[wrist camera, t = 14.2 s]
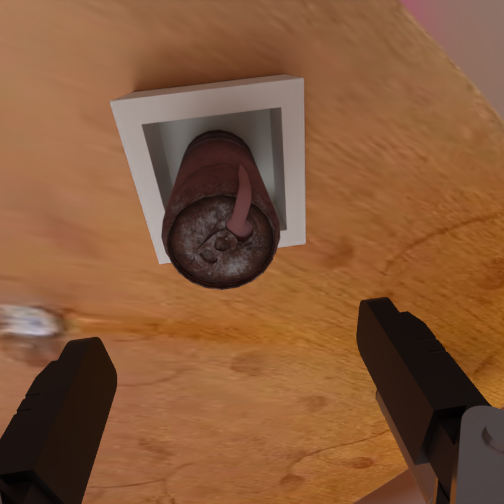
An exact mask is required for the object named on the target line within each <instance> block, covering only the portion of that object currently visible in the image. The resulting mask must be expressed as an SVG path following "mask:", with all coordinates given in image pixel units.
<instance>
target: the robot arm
mask: <svg viewBox="0 0 504 504" xmlns="http://www.w3.org/2000/svg"><path fill="white" fill-rule="evenodd" d="M356 337H357V345H358V349H359V352H360V355H361V357H362V359H363V361H364V363H365V365H366V367H367V369H368V371H369V373H370V375H371V377H372V379H373V381H374V383H375V385H376V387H377V389H378V391H377V394H376V400H377V402H378V404H379V406H380V409H381V411H382V413H383V415H384V417H385V419H386V421H387V423H388V425H389V427H390V430H391V432H392V434H393V436H394V438H395V440H396V442H397V444H398V446H399V448H400V450H401V453H402V455H403V457H404V459H405V461H406V463H407V465H408V467H409V469H410V471H411V473H412V475H413V478H414V480H415V482H416V484H417V486H418V488H419V490H420V492H421V494H422V496H423V499H424V501H425V503H426V504H504V411H503V410H501V409H498V408H495V407H492V406H491V405H490V404H489V403H488V402H487V400H486V399H485V398H484V397H483V396H482V394H481V393H480V392H479V391H478V389H477V388H476V387H475V386H474V384H473V383H472V382H471V381H470V379H469V378H468V377H467V376H466V374H465V373H464V372H463V371H462V369H461V368H460V367H459V366H458V364H457V363H456V362H455V361H454V359H453V358H452V357H451V356H450V354H449V353H448V352H446V351H445V348H444V347H443V345H442V344H441V343H440V342H439V340H436V337H435V335H434V334H433V333H432V332H431V330H430V329H429V328H428V327H427V325H426V324H425V323H424V322H423V321H421V320H420V319H418V318H417V317H415V316H414V315H412V314H411V313H409V312H408V311H407V312H399V311H398V310H397V308H396V307H395V306H394V304H393V303H392V302H391V300H390V299H389V298H387V297H382V298H374V299H367V300H362V301H361V302H360V306H359V316H358V325H357V335H356ZM116 388H117V373H116V369H115V367H114V365H113V363H112V361H111V359H110V357H109V355H108V353H107V351H106V349H105V347H104V345H103V343H102V341H101V339H100V338H98V337H91V338H84V339H77V340H71V341H69V342H68V343H67V344H66V346H65V348H64V349H63V351H62V353H61V355H60V357H59V359H58V360H57V361H51V362H50V363H49V364H48V365H47V366H46V367H45V369H44V370H43V371H42V372H41V373H40V374H39V375H38V376H37V377H36V378H35V380H34V381H33V383H32V385H31V387H30V388H29V390H28V392H27V393H26V395H25V396H26V398H25V399H23V400H22V402H21V404H20V406H19V407H18V409H17V414H15V415H14V416H13V418H12V420H11V421H10V423H9V425H8V427H7V428H6V430H5V432H4V434H3V435H2V437H1V439H0V504H81V503H82V500H83V496H84V493H85V490H86V487H87V483H88V480H89V477H90V474H91V470H92V467H93V464H94V461H95V457H96V454H97V451H98V448H99V444H100V441H101V438H102V434H103V431H104V428H105V425H106V421H107V418H108V415H109V412H110V408H111V405H112V402H113V399H114V395H115V392H116Z"/></svg>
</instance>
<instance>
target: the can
mask: <svg viewBox="0 0 504 504" xmlns="http://www.w3.org/2000/svg"><path fill="white" fill-rule="evenodd" d="M161 238H162V242H163V245H164V249H165V252H166V254H167V256H168V257H169V258H170V261H171V262H172V264H173V265H174V267H175V268H176V270H177V271H178V272H179V273H180V274H181V275H182V276H184V277H185V278H186V279H188V280H189V281H190V282H192V283H195V284H197V285H200V286H202V287H205V288H211V289H220V290H223V289H230V288H237V287H240V286H242V285H245V284H247V283H250V282H252V281H253V280H255V279H256V278H257V277H258V276H260V275H261V274H262V273H264V271H265V270H266V269H267V267H268V266H269V264H270V263H271V261H272V260H273V257H274V255H275V253H276V250H277V247H278V244H279V240H280V223H279V219H278V217H277V214H276V212H275V209H274V207H273V204H272V202H271V199H270V197H269V194H268V192H267V189H266V187H265V184H264V182H263V180H262V177H261V175H260V172H259V170H258V167H257V165H256V162H255V160H254V157H253V155H252V153H251V150H250V148H249V146H248V145H247V144H246V143H245V142H244V141H243V140H242V138H240V137H238V136H237V135H235V134H233V133H231V132H228V131H223V130H213V131H207V132H205V133H203V134H200V135H198V136H197V137H196V138H195V139H194V140H193V141H192V142H191V143H190V144H189V145H188V147H187V149H186V151H185V153H184V155H183V158H182V161H181V164H180V168H179V171H178V174H177V177H176V180H175V183H174V186H173V189H172V193H171V196H170V199H169V202H168V205H167V208H166V211H165V214H164V218H163V222H162V234H161Z"/></svg>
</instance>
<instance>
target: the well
mask: <svg viewBox="0 0 504 504" xmlns="http://www.w3.org/2000/svg"><path fill="white" fill-rule="evenodd" d="M110 104H111V108H112V111H113V114H114V117H115V121H116V124H117V127H118V130H119V134H120V137H121V140H122V144H123V147H124V150H125V153H126V157H127V160H128V163H129V166H130V170H131V173H132V176H133V179H134V183H135V186H136V189H137V192H138V196H139V199H140V202H141V205H142V209H143V212H144V215H145V219H146V222H147V225H148V228H149V232H150V235H151V238H152V241H153V245H154V248H155V251H156V254H157V258H158V261H159V264H164V263H172V262H171V261H170V258H169V257H168V256H167V254H166V252H165V249H164V245H163V242H162V238H161V234H162V222H163V218H164V214H165V211H166V208H167V205H168V202H169V199H170V196H171V193H172V189H173V186H174V183H175V180H176V177H177V174H178V171H179V168H180V164H181V161H182V158H183V155H184V153H185V151H186V149H187V147H188V145H189V144H190V143H191V142H192V141H193V140H194V139H195V138H196V137H197V136H198V135H200V134H203V133H205V132H207V131H213V130H223V131H228V132H231V133H233V134H235V135H237V136H238V137H240V138H242V140H243V141H244V142H245V143H246V144H247V145H248V146H249V148H250V150H251V153H252V155H253V157H254V160H255V162H256V165H257V167H258V170H259V172H260V175H261V177H262V180H263V182H264V184H265V187H266V189H267V192H268V194H269V197H270V199H271V202H272V204H273V207H274V209H275V212H276V214H277V217H278V219H279V223H280V240H279V244H278V247H277V248H279V247H286V246H294V245H301V244H306V222H305V130H304V78H302V77H297V76H292V75H287V74H280V75H271V76H263V77H255V78H246V79H238V80H229V81H221V82H213V83H204V84H196V85H188V86H179V87H171V88H163V89H154V90H146V91H137V92H132V93H129V94H127V95H124V96H122V97H119V98H117V99H114V100H112V101H110Z"/></svg>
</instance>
